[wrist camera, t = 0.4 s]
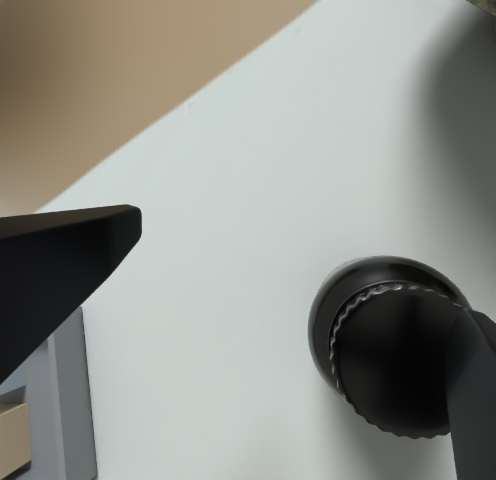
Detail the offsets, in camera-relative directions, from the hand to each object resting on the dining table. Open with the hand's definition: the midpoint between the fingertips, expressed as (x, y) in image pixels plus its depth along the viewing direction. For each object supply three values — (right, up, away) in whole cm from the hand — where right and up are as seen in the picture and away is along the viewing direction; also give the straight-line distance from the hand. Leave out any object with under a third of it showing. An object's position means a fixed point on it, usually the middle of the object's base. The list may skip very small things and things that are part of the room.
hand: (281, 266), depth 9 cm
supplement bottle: (+7, -4, +13) cm, 15 cm away
